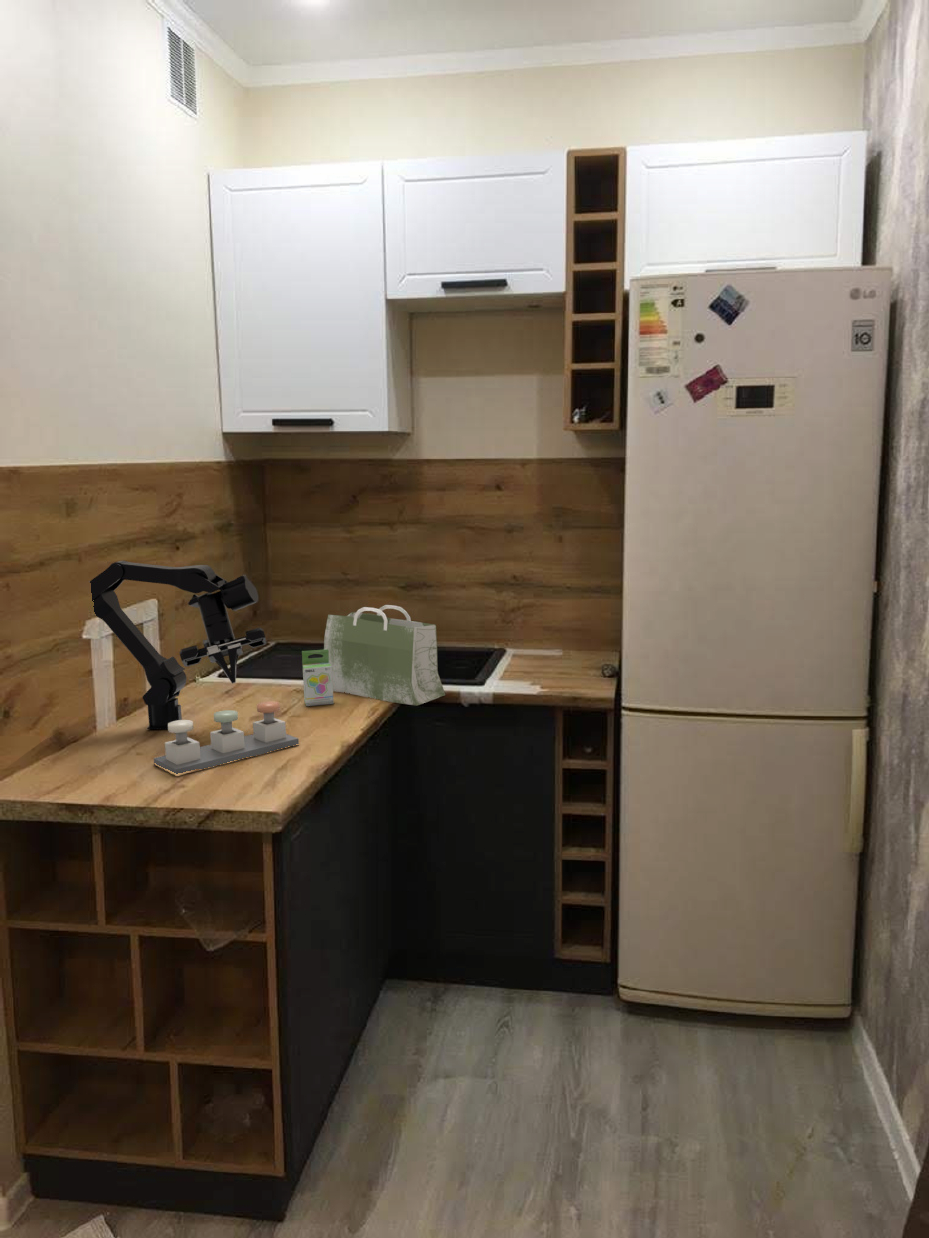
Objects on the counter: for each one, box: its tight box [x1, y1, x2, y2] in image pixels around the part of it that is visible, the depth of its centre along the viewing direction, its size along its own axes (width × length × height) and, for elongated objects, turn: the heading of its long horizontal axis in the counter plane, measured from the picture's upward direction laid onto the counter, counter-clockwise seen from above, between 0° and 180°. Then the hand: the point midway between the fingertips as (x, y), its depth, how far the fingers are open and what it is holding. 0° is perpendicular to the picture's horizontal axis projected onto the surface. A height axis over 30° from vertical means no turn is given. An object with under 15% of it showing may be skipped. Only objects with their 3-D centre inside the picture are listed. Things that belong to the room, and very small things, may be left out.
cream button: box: [167, 719, 194, 746], centre depth 189 cm, size 5×5×5 cm
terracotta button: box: [256, 700, 281, 725], centre depth 202 cm, size 5×5×5 cm
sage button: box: [213, 709, 239, 735], centre depth 195 cm, size 5×5×5 cm
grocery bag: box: [323, 604, 446, 706], centre depth 244 cm, size 32×14×23 cm, turn 55°
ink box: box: [301, 649, 335, 707], centre depth 235 cm, size 7×4×13 cm, turn 105°
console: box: [153, 717, 300, 774], centre depth 196 cm, size 10×28×5 cm, turn 132°
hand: (233, 682), depth 209 cm, fingers closed
